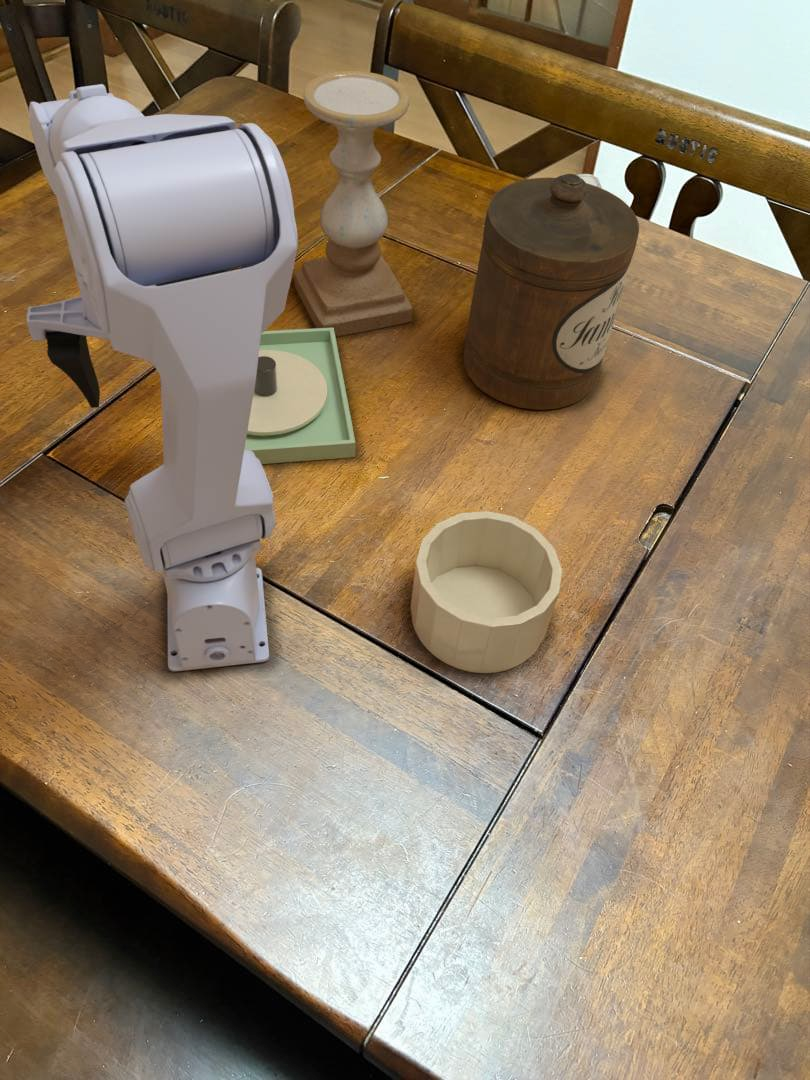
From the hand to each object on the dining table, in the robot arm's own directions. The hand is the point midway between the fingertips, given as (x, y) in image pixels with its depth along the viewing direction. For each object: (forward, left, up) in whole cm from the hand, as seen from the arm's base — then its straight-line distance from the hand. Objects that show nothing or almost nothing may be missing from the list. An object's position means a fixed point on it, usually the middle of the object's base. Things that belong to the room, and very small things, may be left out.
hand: (141, 397), depth 80 cm
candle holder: (+25, -22, -10) cm, 35 cm away
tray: (+9, -11, -9) cm, 17 cm away
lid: (+9, -11, -8) cm, 16 cm away
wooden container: (+12, -40, -10) cm, 43 cm away
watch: (+31, -50, -10) cm, 60 cm away
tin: (-20, -27, -9) cm, 35 cm away
